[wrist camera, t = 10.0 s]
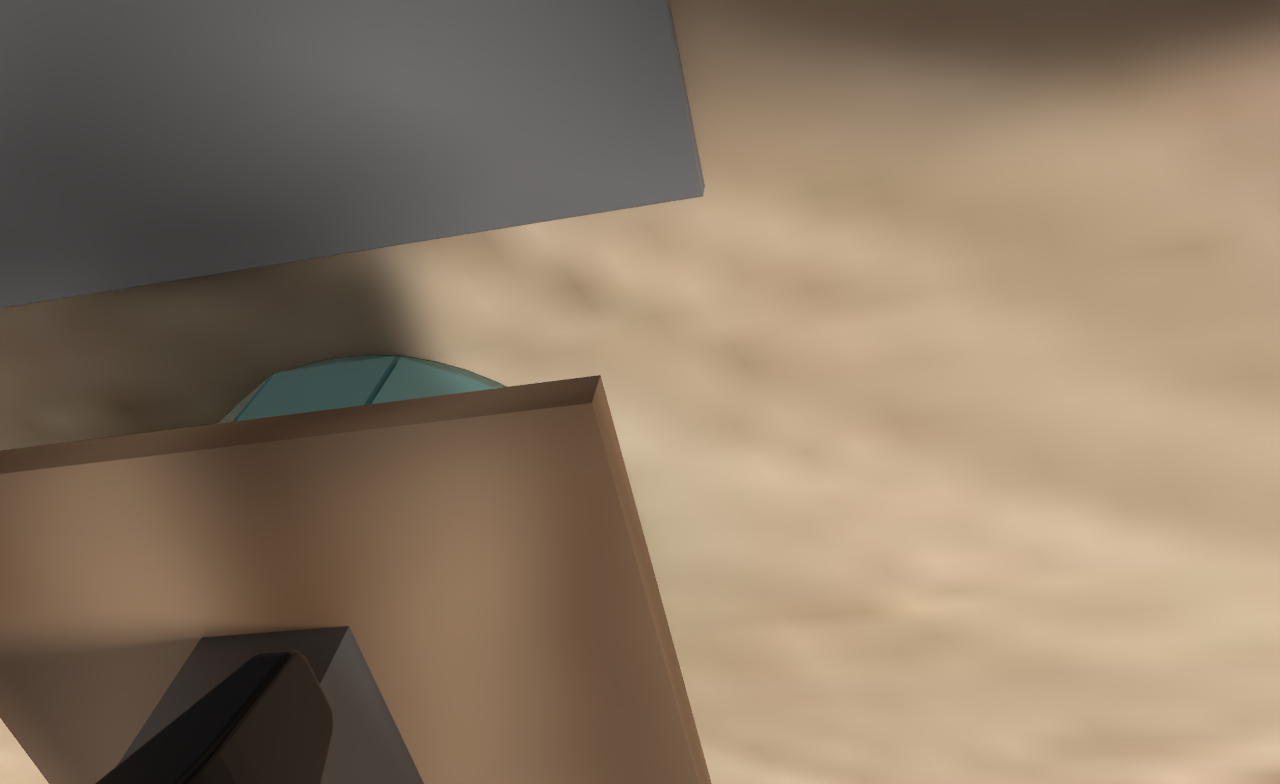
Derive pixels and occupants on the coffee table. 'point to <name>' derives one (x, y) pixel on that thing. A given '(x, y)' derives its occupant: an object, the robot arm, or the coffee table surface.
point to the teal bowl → (354, 385)
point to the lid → (351, 590)
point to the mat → (319, 129)
